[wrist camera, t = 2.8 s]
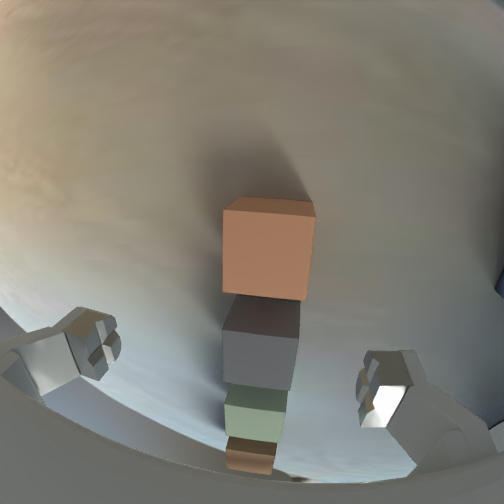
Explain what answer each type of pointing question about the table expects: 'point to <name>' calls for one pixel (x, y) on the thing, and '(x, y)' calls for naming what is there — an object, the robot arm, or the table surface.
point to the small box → (500, 285)
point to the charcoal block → (261, 342)
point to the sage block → (255, 412)
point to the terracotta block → (268, 247)
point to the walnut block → (250, 455)
